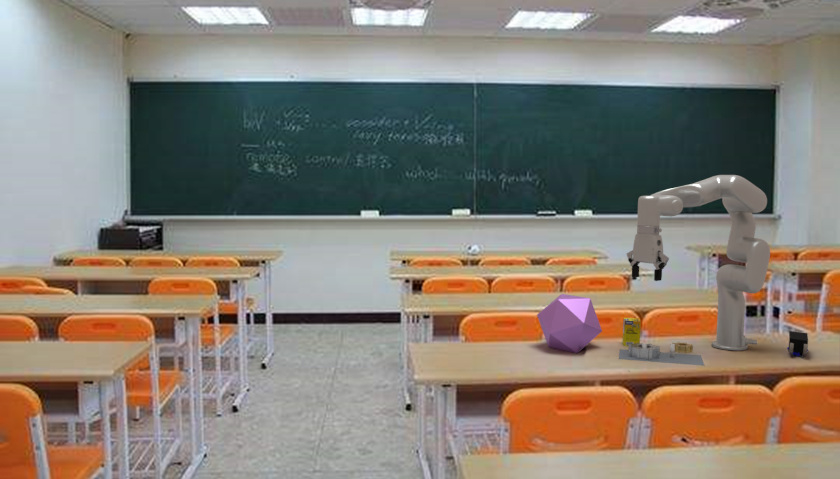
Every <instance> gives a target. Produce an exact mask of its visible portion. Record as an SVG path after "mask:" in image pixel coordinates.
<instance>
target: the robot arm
mask: <svg viewBox="0 0 840 479" xmlns="http://www.w3.org/2000/svg"><path fill="white" fill-rule="evenodd" d="M767 197H768V196H767V195H766V193H765V192H764V191H763V190H762V189H760V188H759V187H758V186H757V185H755V184H754V183H752V182H751V181H749V180H748V179H746V178H745V177H743V176H741V175H736V174H718V175H713V176H711V177H708V178H705V179H703V180H699V181H696V182H694V183H693V182H692V183H690V184H685V185H681V186H677V187H673V188H667V189H664V190H660V191H657V192H655V193H652V194H650V195H641V196H639V197H638V201H637V218H636V219H637V220H636V221H637V224H636V225H637V228H636V233H635V236H634V240H633V247H632V250H630V251H629V252H627V253H626V257H627V259H628V260H627V261H628V262H629V264H630V267H631V278H640V266H639V264H640V263H644V264H653V266H654V267H655V269H654V274H653V276H654V277H653V280H654V281H655V282H660V281H662V279H663V278H662V276H663V269H665V267H666V265H667V263H668V262H669V260H670V258H669V257H668V256H667V255H666V254H664V245H663V237H662V235H661V234H660V233H661V232H662V230H663V229H662V228H661V227H660V225H661V224H660V223H661V217H677V216H678V215H680V214H681V213H682V211H683V209H684V208H695V207H701V206H703V205H706V204H708V203H712V202H714V201H717V200H720V199H722V204H723V206H724V209H726V211H727V213H728V215H729V217H730V220H731V226H730V232H729V236H728V240H727V245H726V250H725V251H726V253H725V254H726V256H727V258H728V259H729V260H731V261H733V262H739V263H745V265H746V266H745V265H739V264H734V263H733V264H730V263H729V264H724V265H721V266H720V267H719V269H718V270H717V272H716V285H717V296H718V297H717V315H716V316H717V321H716V322H717V323H716V340H714V341H712V342H711V346H712V347H714V348H715V349H721V350H724V351H734V352H735V351H739V352H740V351H746V350H748V347H749V345H754V346H755V345H757V346H758V339H753V338H748V337H746V336H745V318H746V315H745V314H746V313H745V312H746V297H745V295H744V293H747V294H756V293H759V292H760V291H761V290H762V289H763V286H764V284H765V281H766V276H767V272H768V267H769V263H770V259H771V258H770V257H771V248H770V246H769V244H768V242H767V241H766V240H765V239H762V238H758V237H755V234H756V230H757V229H756V228H757V226H756V225H757V222H756V219H755V217H754V215H753V214H757V213H760V212H763V211H764V210H765V209H766V207H767V204H768V198H767Z"/></svg>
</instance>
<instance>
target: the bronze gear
mask: <svg viewBox="0 0 840 479" xmlns="http://www.w3.org/2000/svg"><path fill="white" fill-rule="evenodd" d="M671 344H675V353H679V354H690V353H693V348H694V347H693V346H694V345H693V344H692V343H688V342H681V341H677V342H672V343H671Z"/></svg>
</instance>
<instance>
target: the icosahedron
mask: <svg viewBox="0 0 840 479" xmlns="http://www.w3.org/2000/svg"><path fill="white" fill-rule="evenodd" d="M594 307H595V306H594V304H593V302H592V299H591V298H590V297H586V296H585V297H584V296H577V295H570V294H564V293H561V294H559V296H557V297H556V298H555V299H554V300H553V301H551V302H550V303H549V304H547V306H545V307H544V309H542V310H541V311H539V313H537V314H536V316H537V318H538V322H539V324H540V328H541V330H542V333H543V335H544V337H545V338H544V339H545V341H546V344H547V347H548V348H551V349H556V350H561V351H565V352H570V353H575V354H578V353H579V352H581V350H583V349H584V348H585V347H587V345H588V344H590V343H591V342H592V341H593V340H594V339H595V338H596V337H597V336H599V334H601V333H602V332H603V330H602V327H601V324H600V321H599V318H598V315H597V313H596V310H595V308H594Z"/></svg>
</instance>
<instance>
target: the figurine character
mask: <svg viewBox="0 0 840 479" xmlns="http://www.w3.org/2000/svg"><path fill="white" fill-rule="evenodd" d="M788 334H789V335H788V336H789V337H788V338H789V340H788V347H787V350H788V353H791V357H792V358H795V356H796V357H800V358H801V359H803V358H804V354H805V355H807V354H808V352H809V339H808V338H809V336H808V333H807V332H801V331H793V330H792V331H791V330H789V332H788Z"/></svg>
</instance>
